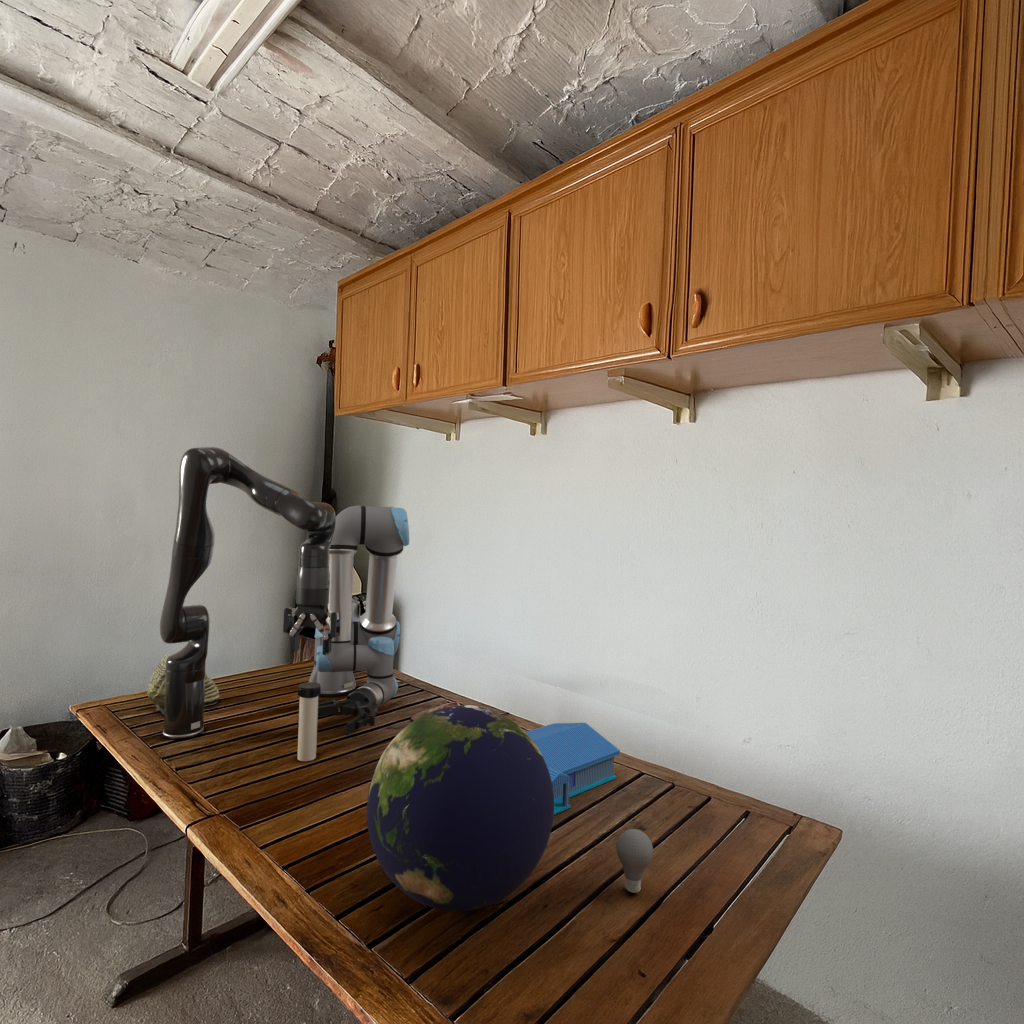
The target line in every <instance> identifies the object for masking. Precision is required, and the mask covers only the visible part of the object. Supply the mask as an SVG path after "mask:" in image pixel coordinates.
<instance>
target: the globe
mask: <svg viewBox="0 0 1024 1024" xmlns="http://www.w3.org/2000/svg"><path fill="white" fill-rule="evenodd" d="M368 788H369V789H368V794H367V801H366V822H367V832H368V836H369V840H370V844H371V847H372V851H373V853H374V855H375V857H376V859H377V861H378V864H379V865H380V867H381V869H382V870H383V872H384V873H385V875H386V876H387V877H388V878H389V880H390V881H391V883H393V884H394V885H395V886H396V887H397V888H398V890H400V891H401V892H402V893H404V894H405V895H406V896H408V897H409V898H410V899H412V900H413V901H415V902H417V903H419V904H421V905H424V906H426V907H428V908H429V907H430V908H431V909H436V910H439V911H445V912H455V913H456V912H471V911H475V910H479V909H483V908H486V907H489V906H491V905H494V904H496V903H499V902H500V901H502V900H503V899H505V898H506V897H508V896H509V895H511V894H512V893H514V892H515V891H516V890H517V889H518V888H519V887H520V886H522V885H523V884H524V882H526V880H527V879H528V878H529V877H530V875H532V873H533V871H534V870H535V869H536V867H537V866H538V864H539V863H540V860H541V859H542V857H543V855H544V853H545V850H546V848H547V846H548V843H549V841H550V837H551V833H552V827H553V823H554V816H555V815H554V794H553V786H552V782H551V777H550V774H549V770H548V767H547V765H546V763H545V760H544V757H543V755H542V753H541V752H540V750H539V748H538V747H537V745H536V744H535V742H534V741H533V740H532V739H531V737H530V736H529V735H528V734H527V733H526V731H525V730H524V729H523V728H522V727H521V726H520V725H518V723H516V722H514V721H513V720H512V719H510V718H508V717H507V716H505V715H503V714H501V713H499V712H497V711H494V710H493V709H489V708H485V707H482V706H477V705H469V704H468V705H467V704H465V705H460V706H451V707H445V708H441V709H438V710H435V711H432V712H430V713H427V714H425V715H423V716H421V717H419V718H418V719H416V720H415V721H413V720H412V721H411V722H409V724H407V725H406V726H405V727H404V728H402V729H401V731H399V733H398V734H396V736H395V737H394V738H393V739H392V740H391V741H390V742H389V743H388V745H387V747H385V749H384V751H382V754H381V755H380V758H379V760H378V762H377V763H376V766H375V769H374V771H373V774H372V777H371V780H370V783H369V787H368Z"/></svg>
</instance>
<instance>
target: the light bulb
mask: <svg viewBox="0 0 1024 1024" xmlns="http://www.w3.org/2000/svg"><path fill="white" fill-rule="evenodd" d="M615 849H616V854H617V857H618V859H619V861H620V863H621V865H622V867H623V873H624V874H623V875H624V876H625V878H624V888H625V890H627V891H628V892H630V893H634V894H635V893H639V892H640V891H641V889H642V887H641V886H642V879H643V877H644V875H645V871H646V868H647V867H648V866H649V864H650V863H651V861H652V859H653V855H654V847H653V843H652V841H651V838H649V836H648V835H647V834H646V833H645V832H643V831H642V830H641V829H636V828H629V829H627V830H625V831H623V832H622V833H621V834H620V835H619V837H618V839H617V841H616V847H615Z"/></svg>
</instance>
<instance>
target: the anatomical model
mask: <svg viewBox="0 0 1024 1024" xmlns="http://www.w3.org/2000/svg"><path fill="white" fill-rule="evenodd" d="M451 706H461V705H460V703H459V702H458V701H452V702H451V701H450V702H447V703H445V704H440V705H438V706H436V707H432V708H429V709H426V710H423V711H419V712H418V713H415V714H414V715H412V716H411V717H410V720H411V721H412V722H413V721H415V720H416V719H418V718H419V717H421V716H423V715H425V714H427V713H430V712H432V711H435V710H438V709H441V708H445V707H451Z"/></svg>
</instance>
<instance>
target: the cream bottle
mask: <svg viewBox="0 0 1024 1024" xmlns="http://www.w3.org/2000/svg"><path fill="white" fill-rule="evenodd" d="M319 697H320V696H317V697H312V698H303V697H299V702H298V703H299V704H298V716H299V725H298V724H297V728H298V730H297V753H296V755H297V756H296V757H297V758H296V759H297V760H298V761H300V762H310V761H311V762H312V761H314V760H315V759H316V758H317V744H318V723H319V721H318V720H319V719H318V718H319V717H318V703H319Z"/></svg>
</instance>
